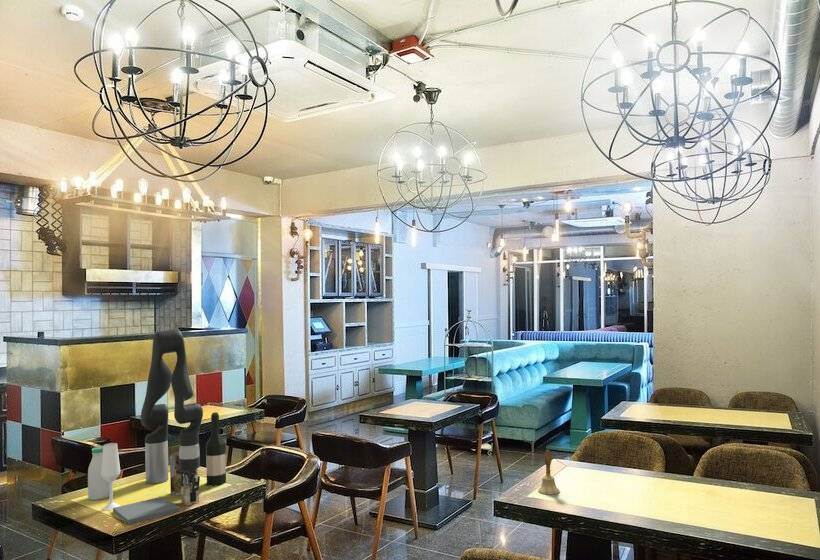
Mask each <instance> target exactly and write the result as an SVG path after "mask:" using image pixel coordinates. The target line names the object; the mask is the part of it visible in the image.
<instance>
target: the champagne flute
mask: <svg viewBox="0 0 820 560" xmlns="http://www.w3.org/2000/svg"><path fill="white" fill-rule="evenodd" d="M102 447H103V458H102V469H101V476H102V478H103V479H105V480H106V481H107V482H109V497H108V498H109V499H108V500H109V502H108V503H107V504H106V505H104V506H103V507H101V510H102V511H105V510H108V511H113V508H115V507H119V506H120V504H119V503H116V502H114V488H113V486H114V485H113V482H114V481H116V480H117V479H118V478H119V476H120V474H121V466H120V458H119V457H120V456H119V449H118V448H119V447H118V443H116V442H110V443H105V444H103V446H102Z"/></svg>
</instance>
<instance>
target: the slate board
mask: <svg viewBox="0 0 820 560" xmlns="http://www.w3.org/2000/svg"><path fill="white" fill-rule="evenodd" d="M177 511H178V512H180V506H178V505H176V504H174V503H173V502H172V501H170V500H169V499H166V498H165V497H164V496H158V497H154V498H150V499H145V500H141V501H137V502H132V503H128V504H124V505H121V506H119V507H115V508H113V510H112V513H113V514H115V515H116V516H117V515H118V516H117V517H119V518H120V519H121V520H122V519H123V520H122V521H123V522H125V523H126V524H127V523H128V524H127V525H131V524H135V523H138V522H142V521H147V520H151V519H155V518H160V517H162V516H165V515H170V514H173V513H177Z"/></svg>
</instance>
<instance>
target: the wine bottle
mask: <svg viewBox="0 0 820 560" xmlns="http://www.w3.org/2000/svg"><path fill="white" fill-rule="evenodd" d="M218 412H219V411H217V412H215V411H214V412H212V413H211V414H210V420H211V422H210V423H211V424H210V427H211V428H210V429H211V431H210V432H211V434H210V436H209V438H208V439H207V442H206V443H205V456H206V457H205V458H206V460H205V461H206V464H205V465H206V468H205V469H206V485H207V486H209V485H212V486H211V487H214V486H215V485H217V486H222V485H224V484H226V483H227V474H226V473H227V468H226V466H227V465H226V464H227V463H226V461H227V459H226V442H225V440H224V439H223V437H222V436H221V433H220V414H219V413H218ZM221 484H222V485H221ZM215 487H216V486H215Z"/></svg>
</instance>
